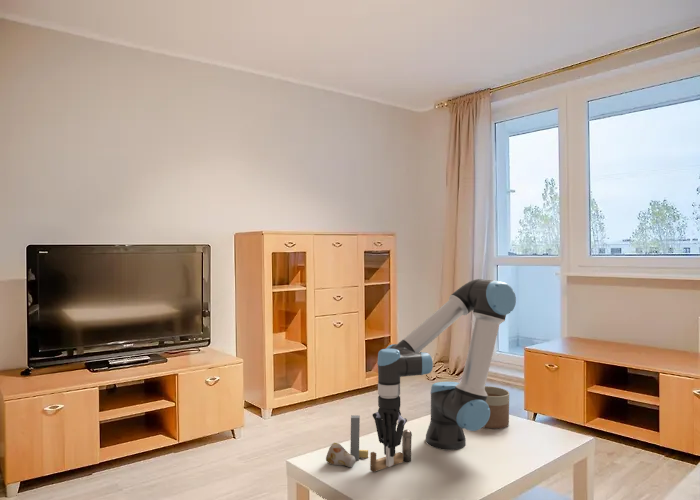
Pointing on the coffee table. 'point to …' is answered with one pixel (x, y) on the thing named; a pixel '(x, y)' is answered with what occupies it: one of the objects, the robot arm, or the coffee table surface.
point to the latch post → (356, 439)
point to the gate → (383, 461)
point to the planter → (497, 407)
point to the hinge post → (406, 445)
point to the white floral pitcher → (339, 456)
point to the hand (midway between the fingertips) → (389, 465)
